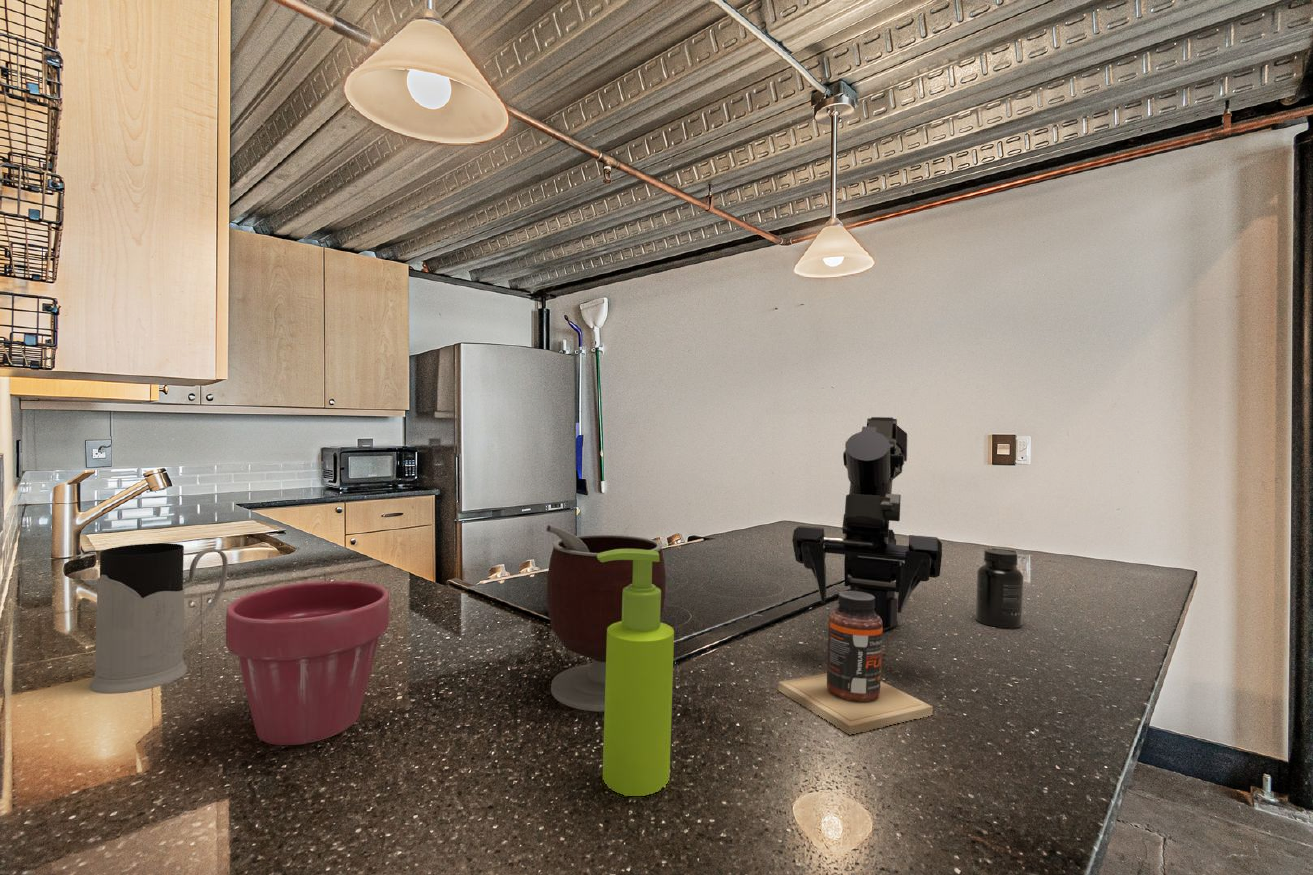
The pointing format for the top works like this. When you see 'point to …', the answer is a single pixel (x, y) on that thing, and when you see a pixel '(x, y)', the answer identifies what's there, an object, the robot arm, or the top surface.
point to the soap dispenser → (638, 685)
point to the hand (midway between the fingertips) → (860, 606)
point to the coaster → (854, 705)
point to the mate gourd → (590, 606)
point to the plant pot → (306, 655)
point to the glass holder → (143, 616)
